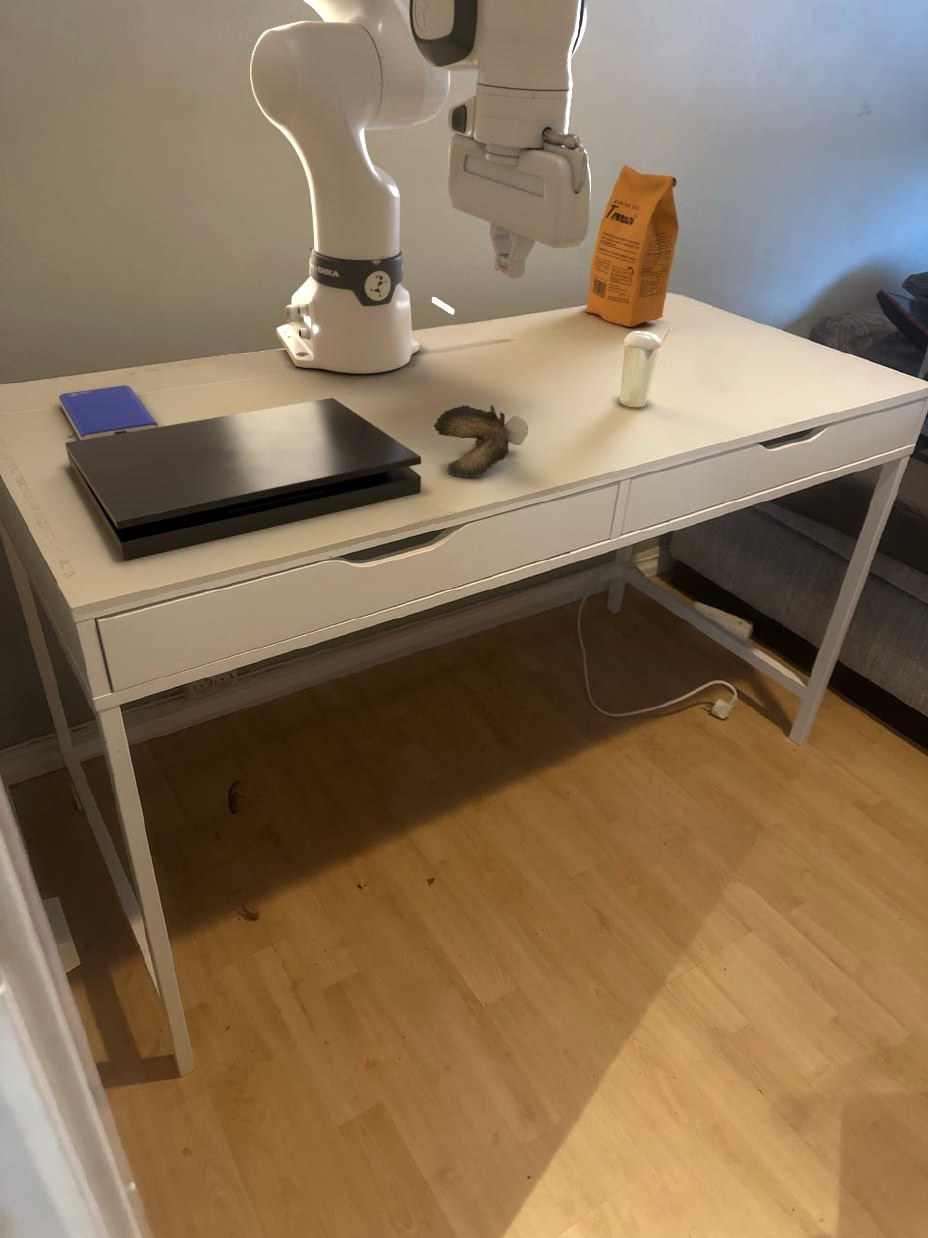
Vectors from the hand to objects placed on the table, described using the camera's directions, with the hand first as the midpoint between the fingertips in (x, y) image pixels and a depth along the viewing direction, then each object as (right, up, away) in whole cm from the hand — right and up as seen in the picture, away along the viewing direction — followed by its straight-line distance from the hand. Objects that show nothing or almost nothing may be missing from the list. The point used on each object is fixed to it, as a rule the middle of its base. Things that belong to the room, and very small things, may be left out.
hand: (509, 274), depth 92 cm
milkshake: (+18, -8, +24) cm, 31 cm away
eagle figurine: (-3, -18, +7) cm, 20 cm away
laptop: (-27, -21, +1) cm, 35 cm away
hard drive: (-46, -13, +11) cm, 49 cm away
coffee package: (+22, +15, +56) cm, 62 cm away
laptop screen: (-27, -19, -1) cm, 33 cm away
